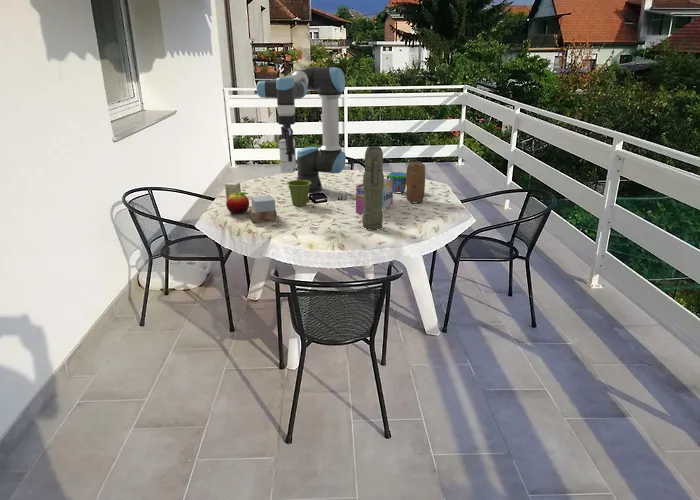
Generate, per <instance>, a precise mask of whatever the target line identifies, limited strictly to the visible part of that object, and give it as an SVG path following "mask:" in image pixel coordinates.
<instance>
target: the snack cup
mask: <svg viewBox="0 0 700 500" xmlns="http://www.w3.org/2000/svg"><path fill="white" fill-rule="evenodd" d="M386 179H389V180H391V179H393V192H404V191H405V192H406V189H407V186H406V172H402V171H397V172H394V171H393V172H389V173H388V174H387V176H386ZM405 192H404V193H405Z"/></svg>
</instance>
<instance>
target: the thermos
mask: <svg viewBox="0 0 700 500" xmlns="http://www.w3.org/2000/svg"><path fill="white" fill-rule="evenodd" d="M383 165H384V152H383V149H382V147H380V146H377V145H375V146H374V145H371V146H368V147H366V150H365V153H364V166H365V167H364V173H363V176H362V184H363V189H364V210H363V215H362V218H361V219H362V220H361V222H362V228H363V227H364V228H366V229H370V230H369V231H378V230H377V229H380V230H382V229H383V223H384V212H383V210H382V190H383V188H384V179H385V174H384V171H383ZM364 228H363V229H364ZM381 228H382V229H381ZM366 229H365V230H366Z"/></svg>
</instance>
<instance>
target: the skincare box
mask: <svg viewBox="0 0 700 500" xmlns="http://www.w3.org/2000/svg"><path fill="white" fill-rule="evenodd" d="M224 189H225V197H226V199H225V200H227V199H228V197H229V195H230V194H234V193H236V192H238V193H241V192H242V190H241V183H240V182H230V181H229V182H227V183H224Z"/></svg>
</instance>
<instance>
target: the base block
mask: <svg viewBox="0 0 700 500" xmlns="http://www.w3.org/2000/svg"><path fill="white" fill-rule="evenodd" d="M248 209H249V218H250V219H251V223H252V224H256V223H257V224H259V223H269V222H271V221H273V222H277V221H278V216H277V214H278V213H277V209H275V211H268V212H257V213H255V211H254V210H253V208H252V205H251V206H249V208H248Z"/></svg>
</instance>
